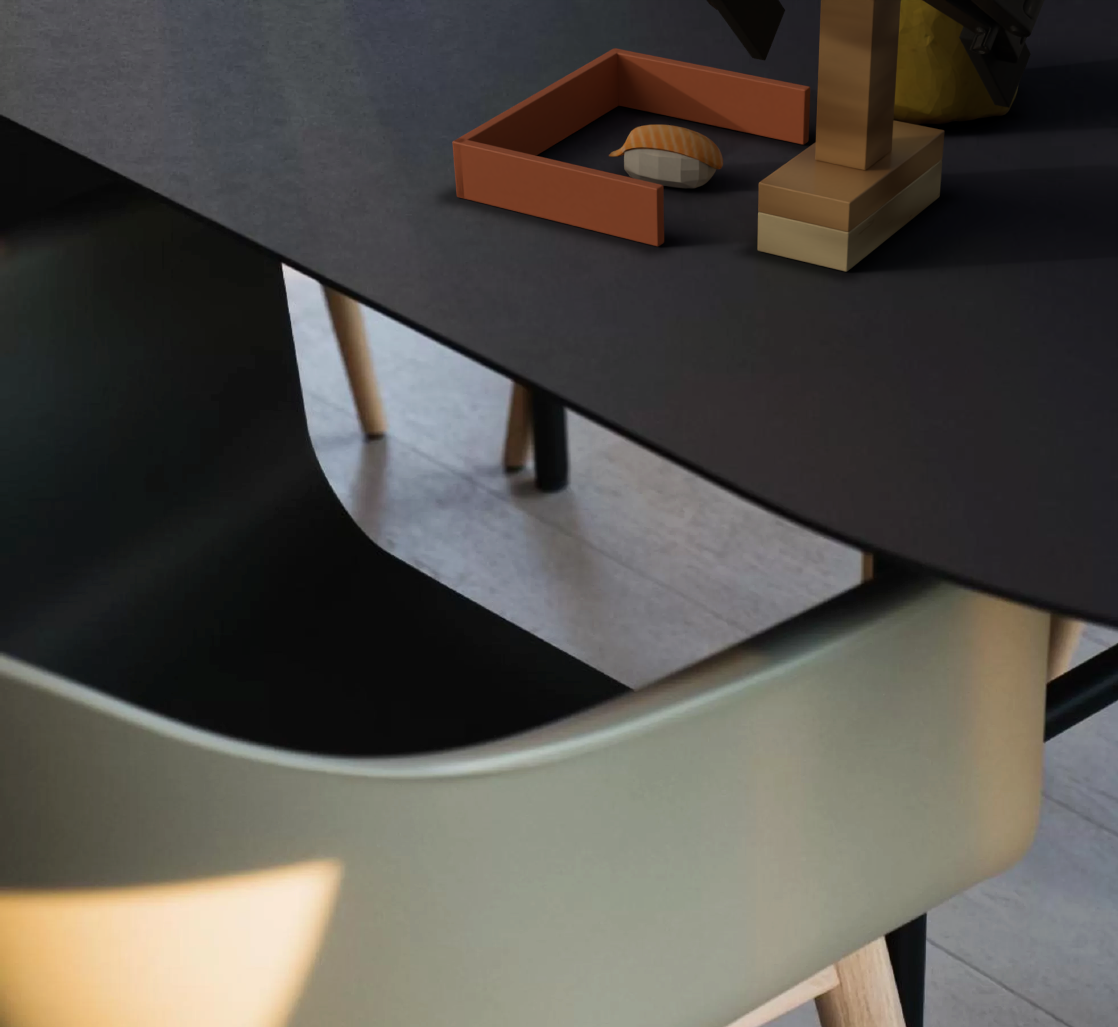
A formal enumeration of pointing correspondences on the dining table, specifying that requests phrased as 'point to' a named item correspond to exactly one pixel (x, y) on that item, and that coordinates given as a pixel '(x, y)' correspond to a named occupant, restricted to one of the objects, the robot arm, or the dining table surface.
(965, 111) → the mug
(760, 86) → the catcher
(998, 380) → the dining table surface
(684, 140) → the sushi
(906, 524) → the dining table surface
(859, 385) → the dining table surface
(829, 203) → the brown boxy piece
